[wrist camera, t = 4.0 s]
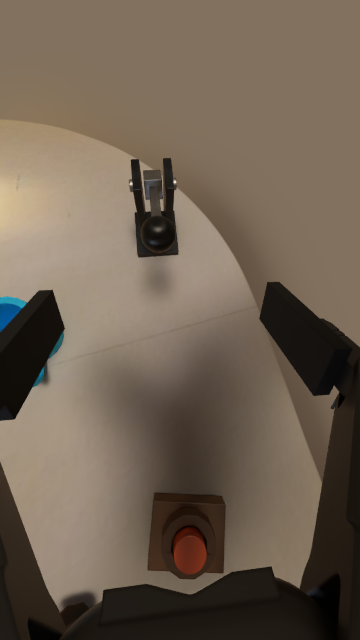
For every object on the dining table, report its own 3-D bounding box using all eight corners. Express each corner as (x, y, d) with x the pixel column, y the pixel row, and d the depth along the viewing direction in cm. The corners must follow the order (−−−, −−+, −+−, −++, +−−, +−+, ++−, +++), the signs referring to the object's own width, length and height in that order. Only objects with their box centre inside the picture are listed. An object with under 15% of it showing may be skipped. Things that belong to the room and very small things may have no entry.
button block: (221, 496, 35) (229, 512, 31) (219, 560, 33) (227, 586, 29) (154, 492, 34) (152, 508, 30) (148, 557, 33) (146, 583, 29)
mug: (6, 319, 38) (-37, 306, 30) (57, 305, 39) (29, 289, 31) (20, 393, 36) (-22, 401, 28) (74, 376, 37) (48, 378, 29)
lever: (177, 258, 25) (177, 227, 22) (143, 261, 24) (138, 229, 22) (166, 193, 33) (165, 164, 30) (140, 194, 33) (137, 165, 30)
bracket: (178, 254, 42) (183, 201, 28) (138, 257, 41) (125, 203, 28) (173, 214, 43) (177, 145, 30) (135, 216, 43) (121, 147, 29)
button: (205, 526, 31) (207, 536, 29) (203, 563, 30) (205, 575, 28) (174, 525, 30) (175, 534, 29) (171, 562, 30) (172, 574, 28)
